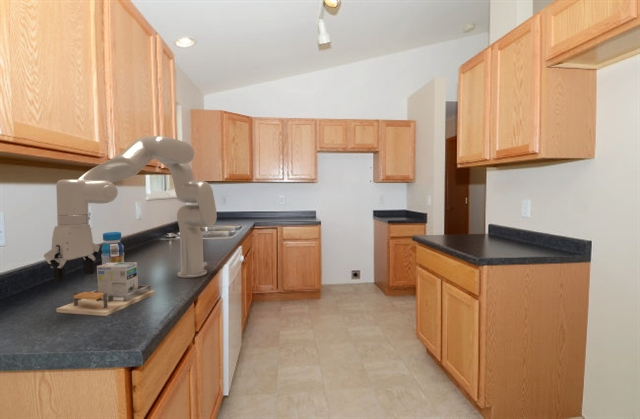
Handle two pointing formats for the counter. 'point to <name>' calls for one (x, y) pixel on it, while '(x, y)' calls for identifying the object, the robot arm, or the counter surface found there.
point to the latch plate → (89, 295)
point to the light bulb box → (117, 278)
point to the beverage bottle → (112, 248)
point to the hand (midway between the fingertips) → (74, 277)
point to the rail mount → (106, 302)
